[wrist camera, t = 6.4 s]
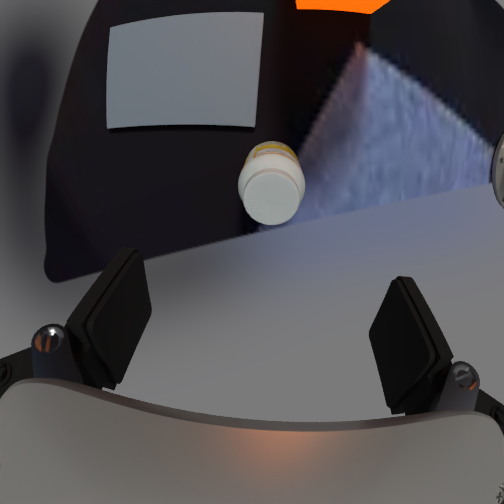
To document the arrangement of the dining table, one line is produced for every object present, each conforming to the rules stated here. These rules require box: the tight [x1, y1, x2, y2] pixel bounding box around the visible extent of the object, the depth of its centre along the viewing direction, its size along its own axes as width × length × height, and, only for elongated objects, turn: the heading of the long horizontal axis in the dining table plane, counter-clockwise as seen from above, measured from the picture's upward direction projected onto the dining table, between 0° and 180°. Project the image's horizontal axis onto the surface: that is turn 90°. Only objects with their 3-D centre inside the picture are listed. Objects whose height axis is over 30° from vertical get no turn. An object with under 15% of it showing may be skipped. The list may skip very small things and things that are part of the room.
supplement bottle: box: [238, 141, 305, 225], centre depth 23 cm, size 5×5×10 cm
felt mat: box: [107, 12, 264, 128], centre depth 22 cm, size 16×12×1 cm
